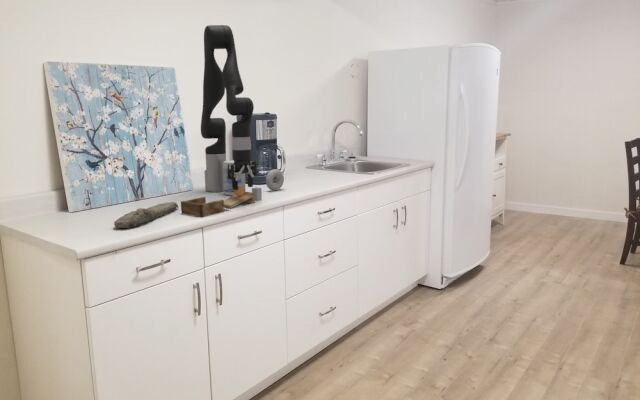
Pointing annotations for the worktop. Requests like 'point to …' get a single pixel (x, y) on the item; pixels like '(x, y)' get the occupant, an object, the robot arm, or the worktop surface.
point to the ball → (239, 191)
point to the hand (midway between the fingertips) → (243, 188)
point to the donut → (278, 183)
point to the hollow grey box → (257, 193)
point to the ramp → (239, 199)
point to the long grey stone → (144, 215)
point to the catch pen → (201, 207)
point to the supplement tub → (228, 183)
